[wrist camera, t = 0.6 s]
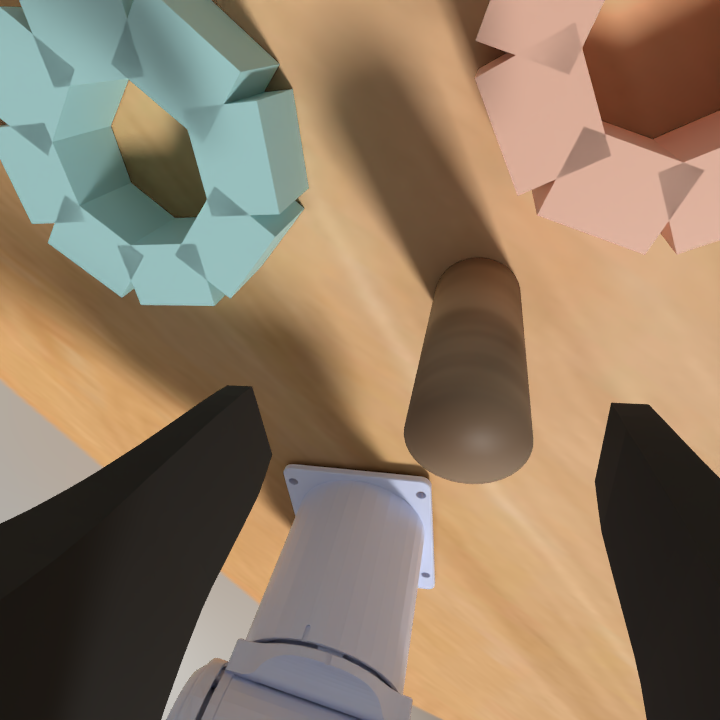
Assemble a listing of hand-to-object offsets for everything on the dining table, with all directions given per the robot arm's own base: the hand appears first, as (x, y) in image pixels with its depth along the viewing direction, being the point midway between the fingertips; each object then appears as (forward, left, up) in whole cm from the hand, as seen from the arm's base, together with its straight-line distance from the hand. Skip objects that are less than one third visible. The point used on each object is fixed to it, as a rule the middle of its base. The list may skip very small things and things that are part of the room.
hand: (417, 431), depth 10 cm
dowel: (-2, -1, -10) cm, 10 cm away
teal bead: (+4, +10, -10) cm, 15 cm away
